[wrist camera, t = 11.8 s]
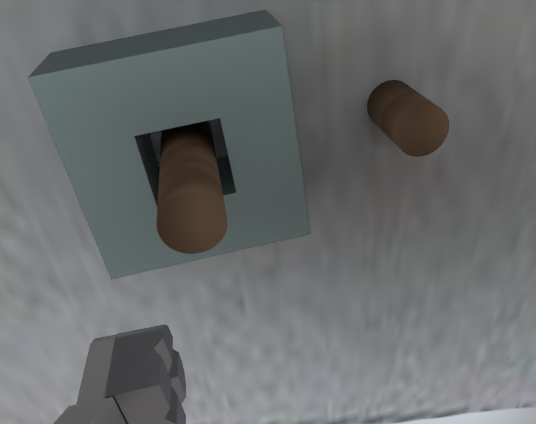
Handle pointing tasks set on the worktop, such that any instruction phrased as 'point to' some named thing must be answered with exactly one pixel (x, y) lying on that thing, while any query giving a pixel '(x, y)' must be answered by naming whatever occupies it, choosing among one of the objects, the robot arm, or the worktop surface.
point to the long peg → (190, 190)
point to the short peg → (408, 118)
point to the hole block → (170, 116)
